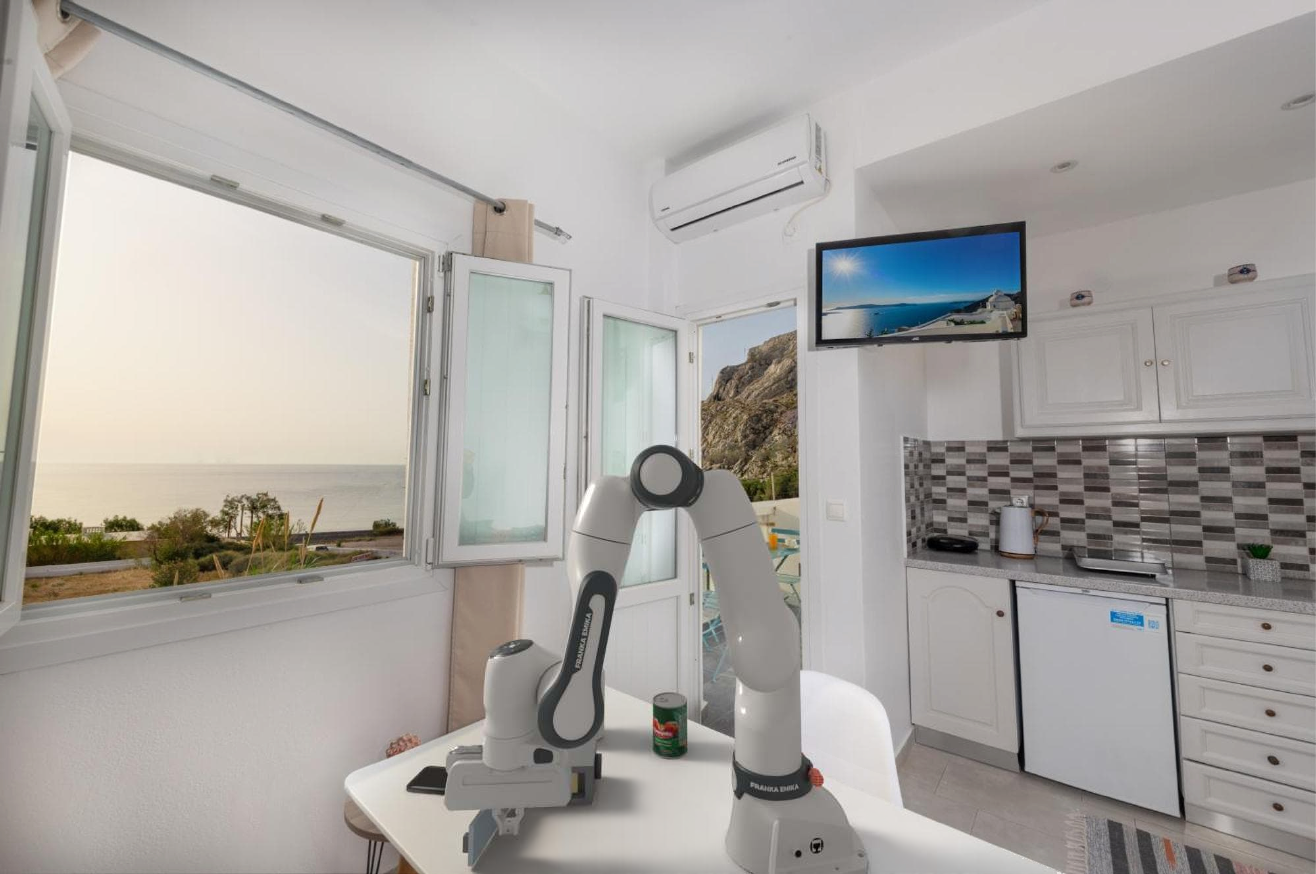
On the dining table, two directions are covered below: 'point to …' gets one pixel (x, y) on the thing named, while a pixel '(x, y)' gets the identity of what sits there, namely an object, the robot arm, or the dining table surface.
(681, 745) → the canned tomato
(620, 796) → the dining table surface
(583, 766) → the box
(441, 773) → the phone
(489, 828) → the side door
